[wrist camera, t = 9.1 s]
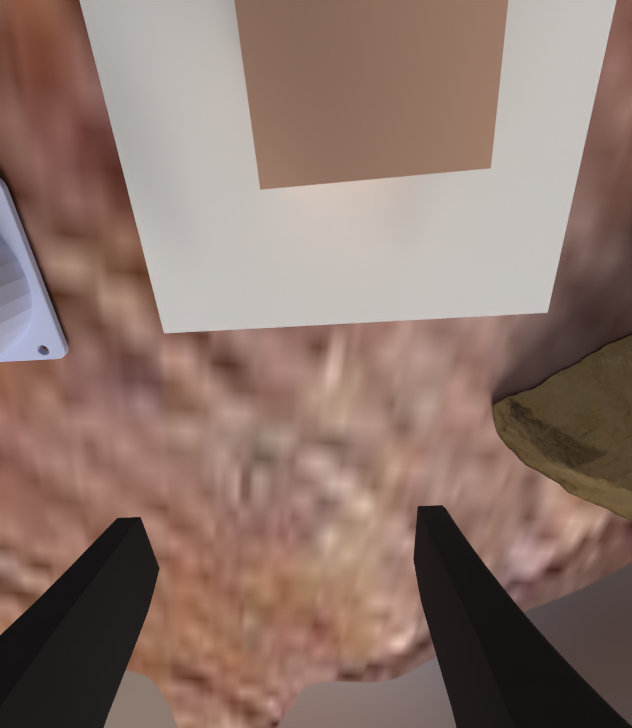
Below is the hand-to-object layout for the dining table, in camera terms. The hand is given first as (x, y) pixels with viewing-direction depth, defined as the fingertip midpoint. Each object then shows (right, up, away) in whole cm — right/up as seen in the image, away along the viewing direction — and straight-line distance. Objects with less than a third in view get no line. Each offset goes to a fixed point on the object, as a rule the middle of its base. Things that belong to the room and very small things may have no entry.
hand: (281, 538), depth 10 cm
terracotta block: (+2, +13, +2) cm, 13 cm away
